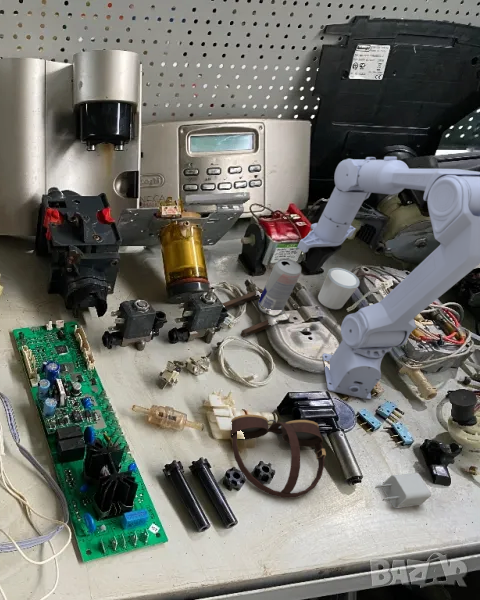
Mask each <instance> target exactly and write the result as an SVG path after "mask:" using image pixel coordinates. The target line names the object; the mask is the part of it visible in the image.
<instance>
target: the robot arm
mask: <svg viewBox="0 0 480 600" xmlns="http://www.w3.org/2000/svg"><path fill="white" fill-rule="evenodd" d="M333 180H334V185H335V186H334V188H333V190H332V192H331V194H330V197H329V198H328V201H327V203H326V204H325V206H324V208H323V211H322V213H321V215H320V216H319V219H318V222H315V223H312V224H310V229H311V231H310V232H309V233H308V234H307V235H306V236H305V237H304V238H301V239H300V240H299V243H298V244H297V249H299V250H300V251H301V252H303V253H307V257H306V265H305V268H306V269H308V270H309V271H310V272H311V273H314V272H317V271H318V270H319V269H320V268H321V267H322V266H323V265H324V264H325V263H326V262H327V261H328V260H329V259H330V258H331V257H333V255H334V254H336V253H338V252H339V251H341V250H342V247H343V245H342V244H343V243H344V242H345V240H346V239H348V238H351V237H353V234H354V233H355V231H356V227H354V226H353V225H352V224H353V221H354V220H355V218H356V216H357V214H358V212H359V210H360V208H361V206H362V205H363V203H364V201H365V200H367V199H369V197H370V196H371V194H372V193H373V194H380V195H381V194H382V195H390V196H391V195H392V196H393V195H397V194H399V193H401V192H402V191H403V190H405V189H407V190H415V191H424V193H423V197H422V198H423V199H422V200H423V201H425V202H426V203H427V209H428V210H427V211H428V215H429V218H430V224H431V228H432V233H433V237H434V240H436V241H437V242H438V243H439V245H438V246H437V247H436V248H435V249H434V250H433V251H432V252H431V253H430V254H429V255H428V256H426V257H425V258H424V259H423V260H422V261H421V262H420V263H419V264H418V265H417V266H416V267H414V269H413V270H412V271H411V272H410V273H408V275H406V276H405V277H404V278H403V279H402V280H401V281H400V282H399V283H398V284H397V285H396V286H395V287H394V288H393V289H391V291H389V292H388V294H386V295H385V296H384V297H383V298H382V299H381V300H380V301H378V302H376V303H373V304H370V305H366V306H364V307H361V308H359V309H358V311H356V312H353V313H349V314H347V315H346V316H344V318H343V319H342V322H341V325H340V335H341V338H342V340H341V341H340V343H339V345H338V346H337V348H336V349H335V351H334V353H332V354H330V353H326V352H323V353H322V362H323V361H325V360H326V361H329V360H330V361H329V362H330V370H329V368H328V367H327V366H326V367H324V366H323V368H324V375H325V380H326V387H327V390H328V391H330V392H333V393H338V394H342V395H347V396H351V397H356V398H361V399H364V400H371V399H372V393H371V392H372V390H373V389H374V388H375V387H376V386H377V384H378V382H379V381H380V380H381V378H382V371H381V363H382V361H383V358H384V356H385V355H386V354H387V353H389V352H391V350H392V349H393V348H399V347H403V346H404V345H405V344H406V343H407V341H408V340H409V337H410V335H411V333H412V332H413V331H414V330H416V329H417V325H416V321H415V318H417V316H418V315H420V314H421V313H422V312H423V311H424V310H426V309H427V308H428V307H429V306H431V304H433V303H434V302H435V301H437V300H438V299H439V298H440V297H442V295H444V294H445V293H446V292H448V291H449V290H450V289H451V288H452V287H453V286H455V284H457V283H459V282H460V281H461V280H462V279H463V278H465V277H466V276H467V275H468V274H469V273H471V272H472V271H473V270H474V269H475V268H477V267H478V266H479V265H480V171H475V170H467V169H460V168H410V167H409V166H408V165H407V163H406V162H405V161H403V160H400V159H398V156H384V157H383V159H377V158H376V157H375V156H366V157H365V159H355V158H354V159H353V158H346V159H343V160H342V161H340V162H339V163H338V164H337V166H336V168H335V171H334V179H333Z"/></svg>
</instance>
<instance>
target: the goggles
mask: <svg viewBox="0 0 480 600" xmlns="http://www.w3.org/2000/svg"><path fill="white" fill-rule="evenodd" d="M230 420H231V421H230V423H231V422H232V424H231V425H232V430H231V429H230V435H229V438H231V439H232V441H231V442H232V443H231V444H232V445H231V446H232V447H231V448H232V452H233V456H234V460H235V462H236V464H237V466H238V468H239V470H240V471H241V473H242V474H243V476H244V477H245V478H246V480H247V481H248V482H249V483H251V484H252V485H253V486H254V487H256V488H257V489H258V490H261V492H264V493H265V494H268V495H270V496H274V497H278V498H282V499H294V498H299V497H301V496H304V495H307V494H308V493H309V492H311V491H312V490H313V489H315V488H316V486H317V485H318V483H319V481H320V480H321V478H322V476H323V472H324V468H325V463H326V462H325V458H326V457H327V452H326V448H324V447H323V444H324V439H323V437H322V436H323V435H322V433H321V431H320V429H319V428H320V426H319V424H318V422H315V421H314V420H309V419H295V420H289V421H286V422H284V421H283V422H281V421H279V422H277V421H276V420H275V419H269V420H268V418H267V417H265V416H263V415H259V414H249V413H248V414H241V415H237V416H235V417H233V418H231V419H230ZM269 422H273V423H272V424H271V425H270V426H269ZM240 430H241V431H242V432H244V433H243V434H244V437H245V440H244V441H247V440H253V439H259V438H261V437H264V436H265V435H267V434H268V433H273V434H278V435H281V438H282V440H283V441H284V442H285V443H287V444H288V445H289V446H290V469H289V474H288V477H287V481H286V483H285V485H284V487H283V489H282V490H281V491H278V490H274V489H272V488H270V487H268V486H266V485H264V484H263V483H262V482H261V481H259V480H258V479H257V478H256V477H254V475H252V473H251V472H250V471H249V469H248V468H247V467H246V466H245V464H244V461H243V459H242V456H241V455H240V451H239V446H238V440H237V431H240ZM232 434H233V435H232ZM313 447H315V457H316V458H315V459H316V460H317V467H318V468H317V471H316V474H315V478H314V479H313V480H312V482H311V484H310V485H309V486H308V487H306V488H305V489H304V490H301V491H299V492H293V491H294V489H295V487H296V485H297V482H298V478H299V475H300V470H301V448H313Z"/></svg>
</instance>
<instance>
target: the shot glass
mask: <svg viewBox="0 0 480 600" xmlns="http://www.w3.org/2000/svg"><path fill="white" fill-rule="evenodd" d="M360 283H361V282H360V279H359V277H358V276H357V275H356V274H355V273H353V272H352V271H351V270H349V269H346V268H341V267H331V268H330V269H328V271H327V273H326V276H325V278H324V280H323V283H322V285H321V287H320V290H319V293H318V295H317V299H318V301H319V303H320V304H321V305H322V306H324V307H325V308H328V309H331V310H340V309H342V308H343V307H344V306H345V304H346V303H347V302H348V300H349V299H350V298H351V297H352V295H353V294H354V293H355V291H356V290H357V289H358V287H359V286H360Z"/></svg>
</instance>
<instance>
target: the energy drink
mask: <svg viewBox="0 0 480 600" xmlns="http://www.w3.org/2000/svg"><path fill="white" fill-rule="evenodd" d="M301 274H302V266H301V264H300V263H298V262H297V261H296V260H293V259H290V258H280V259H278V260H277V261H276V262H275V264H274V266H273V268H272V269H271V272H270V274H269V275H268V276H269V277H268V278H267V281H266V283H265V285H264V287H263V289H262V290H263V292H262V295H261V297H259V299H260V300H259V299H258V301H257V307H258V308H259V310H260V311H261V312H262V313H263V314H265V315H267V314H266V313H265V310H264V309H262V308H261V306H263V307H265V308H267V309H271V310H283V311H284V308H285V307H286V304H287V303H288V301H289V298H290V297H291V295H292V293H293V290H294V288H295V287H296V284H297V282H298V280H299V278H300V276H301ZM259 303H260V305H261V306H260V305H259Z"/></svg>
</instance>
